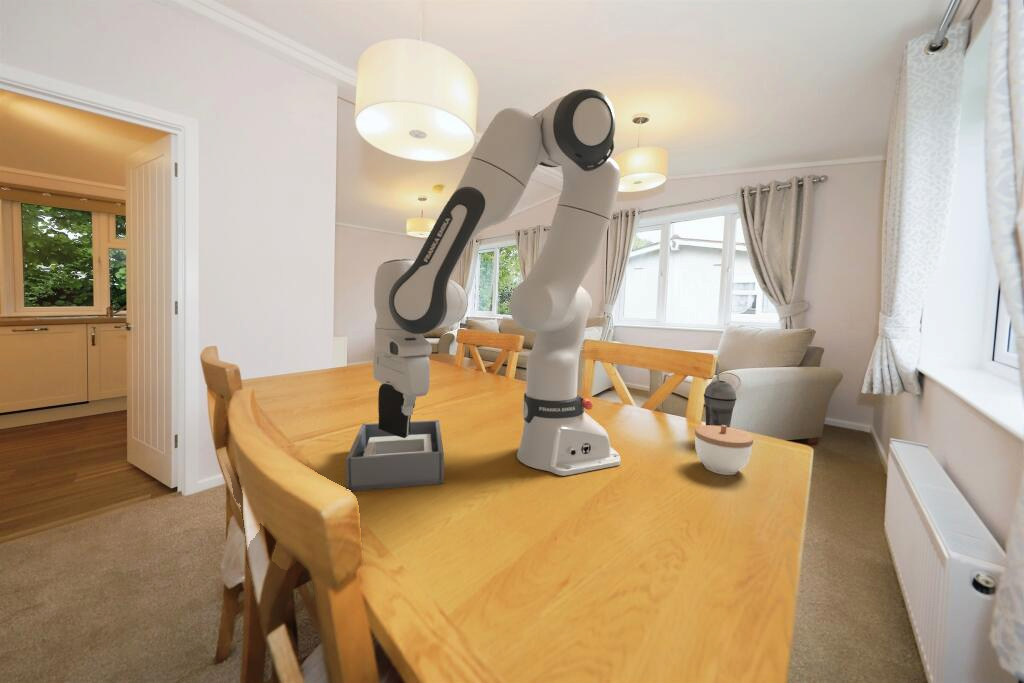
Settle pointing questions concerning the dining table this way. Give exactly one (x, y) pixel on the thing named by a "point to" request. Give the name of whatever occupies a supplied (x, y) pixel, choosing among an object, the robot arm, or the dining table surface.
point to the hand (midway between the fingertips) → (398, 409)
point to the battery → (392, 411)
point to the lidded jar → (723, 448)
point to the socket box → (395, 458)
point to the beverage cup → (719, 402)
